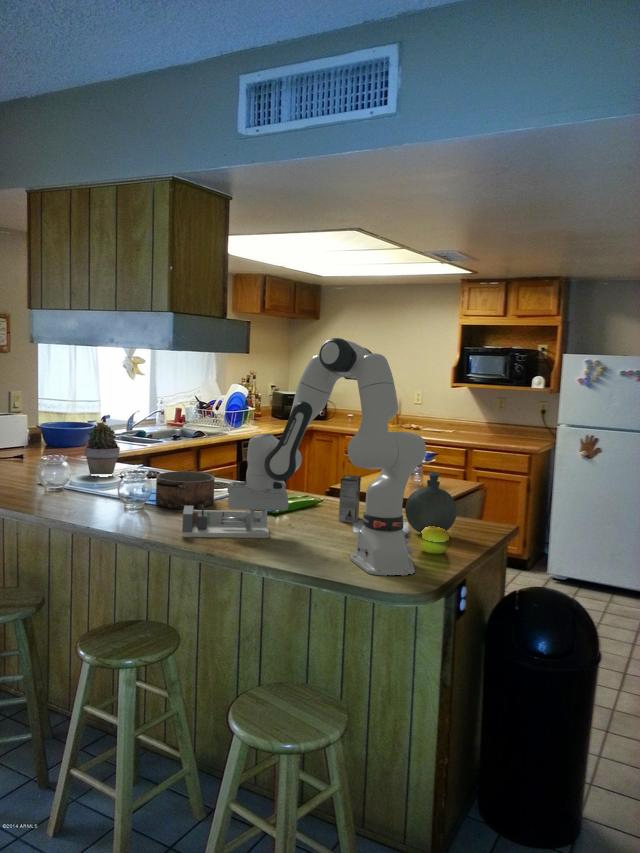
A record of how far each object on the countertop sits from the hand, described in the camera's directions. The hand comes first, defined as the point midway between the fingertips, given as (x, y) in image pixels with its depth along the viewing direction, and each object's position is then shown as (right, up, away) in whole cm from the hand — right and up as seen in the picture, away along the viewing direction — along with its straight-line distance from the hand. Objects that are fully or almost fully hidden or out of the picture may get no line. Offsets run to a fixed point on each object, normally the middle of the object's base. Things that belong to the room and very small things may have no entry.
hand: (257, 522), depth 232 cm
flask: (+59, -6, +11) cm, 61 cm away
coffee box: (+32, -3, +27) cm, 42 cm away
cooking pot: (-32, +2, +39) cm, 51 cm away
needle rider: (-18, -1, -3) cm, 18 cm away
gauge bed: (-10, -3, -1) cm, 11 cm away
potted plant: (-79, +10, +85) cm, 117 cm away
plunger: (-7, -1, -1) cm, 7 cm away
